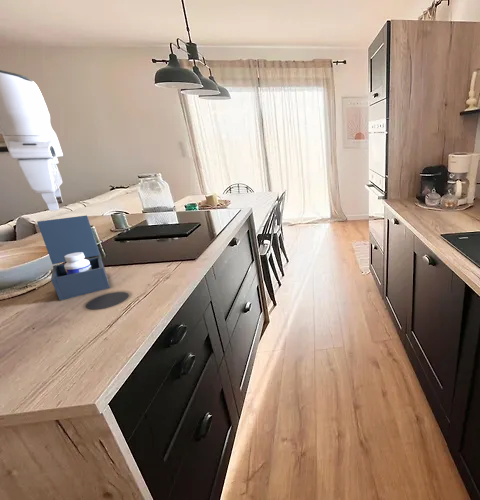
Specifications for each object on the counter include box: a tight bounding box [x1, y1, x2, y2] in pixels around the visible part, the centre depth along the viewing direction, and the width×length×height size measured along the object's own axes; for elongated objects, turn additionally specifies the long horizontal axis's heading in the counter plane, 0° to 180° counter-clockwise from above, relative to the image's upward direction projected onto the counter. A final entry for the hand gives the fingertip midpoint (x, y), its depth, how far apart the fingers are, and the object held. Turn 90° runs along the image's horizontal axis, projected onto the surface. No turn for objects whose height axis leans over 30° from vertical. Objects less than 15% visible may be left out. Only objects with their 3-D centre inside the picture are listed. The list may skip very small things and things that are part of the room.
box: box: [50, 256, 111, 301], centre depth 83 cm, size 12×11×7 cm
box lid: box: [36, 214, 101, 265], centre depth 84 cm, size 12×11×1 cm
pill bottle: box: [64, 252, 92, 275], centre depth 82 cm, size 5×5×10 cm
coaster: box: [85, 291, 130, 311], centre depth 77 cm, size 9×9×1 cm
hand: (56, 206), depth 73 cm, fingers open, 8 cm apart
